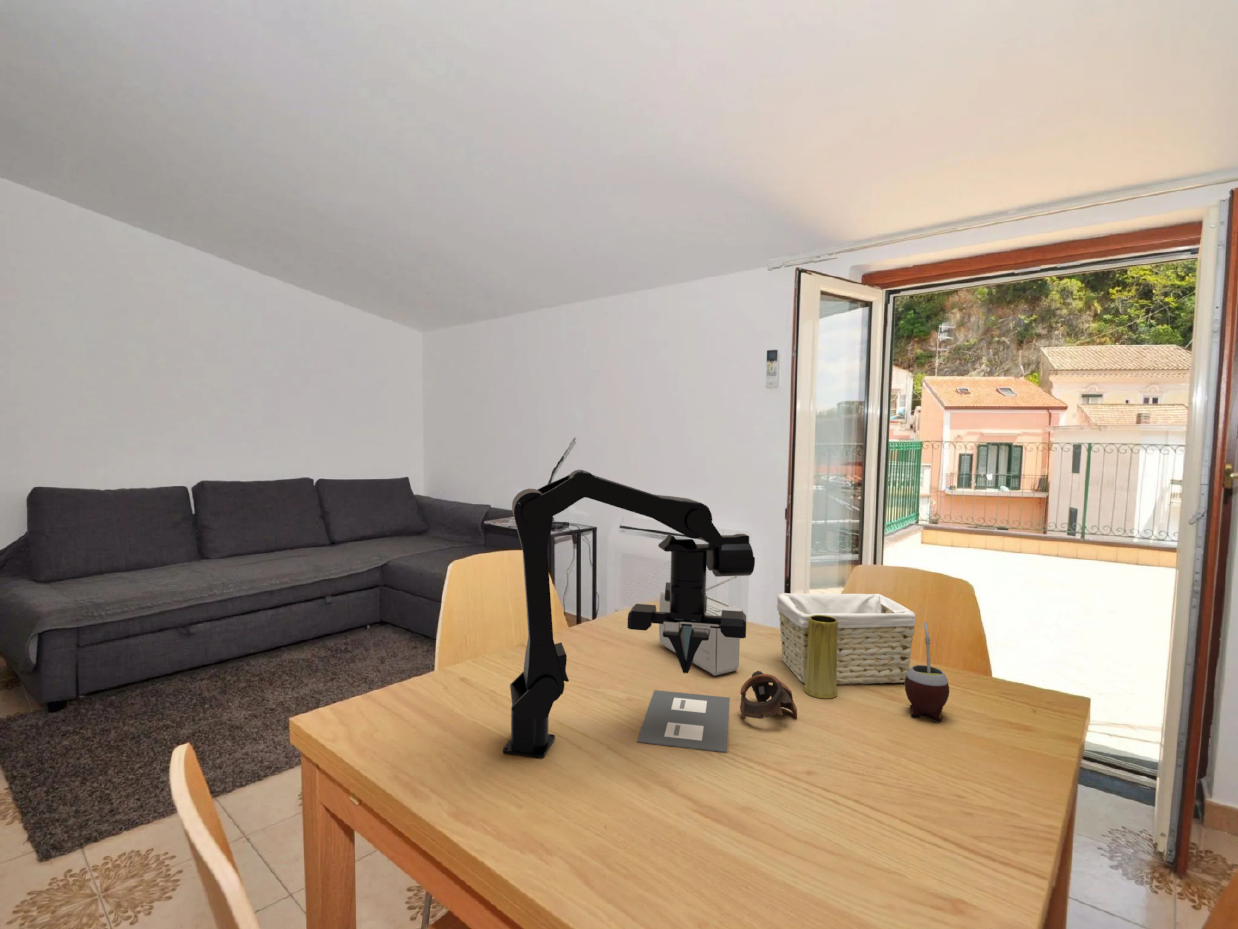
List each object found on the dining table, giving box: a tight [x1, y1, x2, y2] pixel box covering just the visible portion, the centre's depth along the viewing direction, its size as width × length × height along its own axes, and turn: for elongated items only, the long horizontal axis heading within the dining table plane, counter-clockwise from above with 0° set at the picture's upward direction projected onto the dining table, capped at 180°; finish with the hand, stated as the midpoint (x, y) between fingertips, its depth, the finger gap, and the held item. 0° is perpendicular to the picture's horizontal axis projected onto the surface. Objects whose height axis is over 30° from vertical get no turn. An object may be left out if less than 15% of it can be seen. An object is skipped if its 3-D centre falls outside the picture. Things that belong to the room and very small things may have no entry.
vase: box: [803, 615, 838, 700], centre depth 119 cm, size 6×6×14 cm
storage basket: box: [776, 592, 917, 685], centre depth 129 cm, size 24×16×15 cm
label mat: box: [636, 689, 730, 754], centre depth 107 cm, size 20×14×1 cm
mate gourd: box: [904, 621, 950, 724], centre depth 110 cm, size 8×8×15 cm
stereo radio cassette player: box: [658, 576, 744, 677], centre depth 135 cm, size 21×8×20 cm, turn 28°
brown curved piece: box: [739, 670, 798, 720], centre depth 109 cm, size 12×10×8 cm
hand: (685, 672), depth 101 cm, fingers closed
